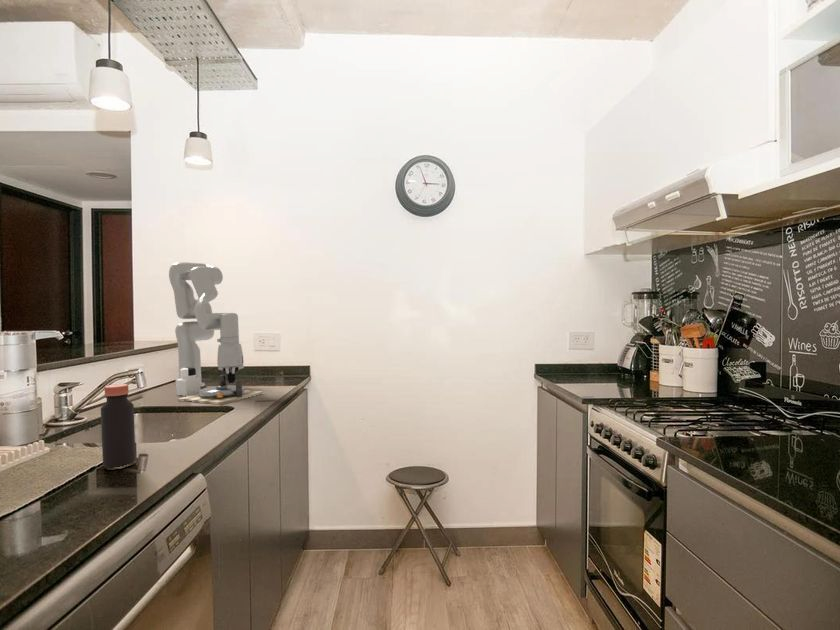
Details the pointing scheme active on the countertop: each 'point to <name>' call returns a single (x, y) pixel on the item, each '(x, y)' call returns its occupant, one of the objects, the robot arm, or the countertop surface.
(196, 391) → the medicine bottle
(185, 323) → the robot arm
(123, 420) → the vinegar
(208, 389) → the flange plate
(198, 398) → the base board
